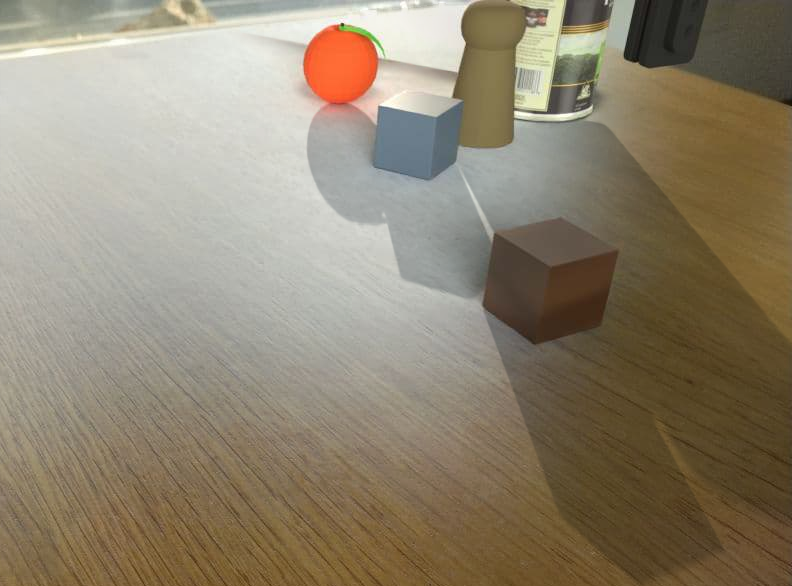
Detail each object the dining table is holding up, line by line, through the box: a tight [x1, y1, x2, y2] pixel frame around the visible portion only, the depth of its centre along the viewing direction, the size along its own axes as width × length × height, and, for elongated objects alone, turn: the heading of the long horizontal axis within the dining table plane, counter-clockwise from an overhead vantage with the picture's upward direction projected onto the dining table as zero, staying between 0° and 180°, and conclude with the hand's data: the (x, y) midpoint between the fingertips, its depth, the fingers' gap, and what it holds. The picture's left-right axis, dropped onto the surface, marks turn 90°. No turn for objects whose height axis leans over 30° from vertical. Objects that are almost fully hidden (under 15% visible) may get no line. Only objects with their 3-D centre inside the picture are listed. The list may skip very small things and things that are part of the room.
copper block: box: [482, 216, 620, 345], centre depth 58 cm, size 5×5×5 cm
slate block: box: [373, 88, 464, 181], centre depth 78 cm, size 5×5×5 cm
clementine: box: [302, 22, 387, 105], centre depth 90 cm, size 8×7×7 cm
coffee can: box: [506, 0, 615, 123], centre depth 88 cm, size 10×10×14 cm
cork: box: [451, 0, 527, 149], centre depth 82 cm, size 6×6×11 cm
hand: (657, 60), depth 50 cm, fingers closed
